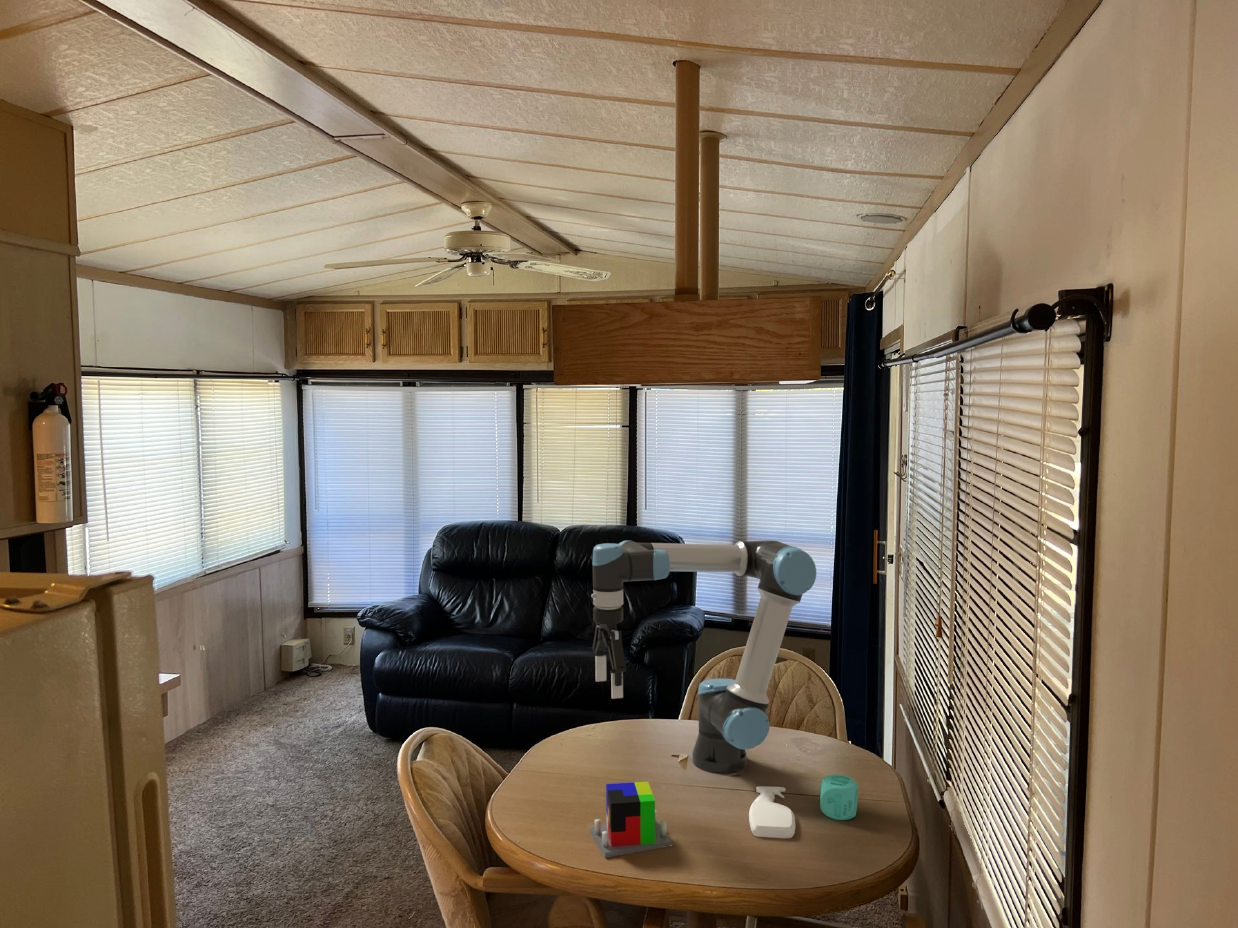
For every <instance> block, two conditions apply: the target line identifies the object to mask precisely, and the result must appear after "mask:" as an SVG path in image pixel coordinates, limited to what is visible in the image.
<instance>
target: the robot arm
mask: <svg viewBox="0 0 1238 928" xmlns="http://www.w3.org/2000/svg"><path fill="white" fill-rule="evenodd" d="M591 564H592V585H593V586H592V592H593V593H591V595H590V597H591V598H592V601H593V602H592V604H593V605H594V607H593V608H592V612H593V613H592V616H593V617H592V620H593V622H594V623H595V629H594V630H595V631H594V637H593V643H592V652H593V653H594V655H595V656H594V657H595V658H594V659H595V660H594V661H595V664H594V665H595V682H606V681H607V655H609V656H608V657H609V661H610V664H611V670H610V671H609V672H610V673H609V674H610V675H611V676H610V678H611V679H610V681H611V682H610V683H611V687H610V689H611V693H610V694H611V699H612V700H614V699H623V698H624V674H623V673H624V672H627V665H626V661H625V653H624V647H623V640H622V636H623V635H622V630H618V628H617V625H618V624H621V623H622V622H623V621H624V607H623V605H624V582H638V581H639V582H641V581H657V580H662V579H666V578H668V576H669V574H670V572H694V573H695V572H696V573H697V572H698V573H699V572H700V573H701V572H702V573H705V572H707V573H708V572H709V573H734V574H735V575H736V576H738V577H749V578H750V577H751V578H753V579H758V580H759V582H758V585H757V590H758V593H759V595H760V598H759V602H758V605H757V608H756V611H755V615H754V617H753V618H754V619H753V621H752V625H751V628H750V631H749V634H748V638H747V641H746V645H745V648H744V651H743V654H742V657H741V661H740V663H739V667H738V670H737V673H736V677H735V679H734V678H733V679H732V678H710V679H706V680H703V681H701V682H700V683H699V685H698V693H697V696H698V699H697V701H698V735H697V738H696V741H695V744H694V746H693V750H692V754H691V755H692V756H691V757H692V759H691V760H692V761H691V762H692V763H693V764H694V765H695V766H696V767H697V768H699V769H701V770H703V771H707V772H713V773H730V772H736V771H739V770H742V769H743V768H745V767H746V765H747V763H748V761H747V760H748V759H747V757H748V755H747V752H746V750H750V749H754V748H755V747H757V746H759V745H761V744H763V742H765V739H766V738H767V737H768V735H769V733H770V726H771V725H770V721H769V717H768V715H767V711H768V708H769V704H770V699H769V697H768V696H767V691H768V687H769V684H770V682H771V678H772V675H773V671H774V668H775V664H776V662H777V659H778V655H779V651H780V649H781V646H782V642H783V639H784V636H785V632H786V630H787V626H788V622H789V618H790V616H791V613H792V609H793V607H795V606H796V605H798V604H800V603H801V601H802V597H803V594H806V593H807V592H808V591H809V590H811V589H812V588H813V586H814V584H815V582H816V580H817V566H816V563H815V561H814V559H813V557H812V556H811V555H810V554H809V553H808V552H806V551H804V550H803V549H801V548H799V547H797V546H793V545H789V544H787V543H784V542H781V541H777V540H750V541H748V540H747V541H746V540H745V541H744V540H743V541H742V540H741V541H740V540H739V541H736V542H735V544H720V543H719V544H714V543H712V544H710V543H704V544H703V543H673V542H672V543H671V542H669V543H666V542H665V543H664V542H635V541H633V540H623V541H621V542H619V543H609V542H607V543H606V542H605V543H599V544H596V545H595V546H593V549H592V562H591Z"/></svg>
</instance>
